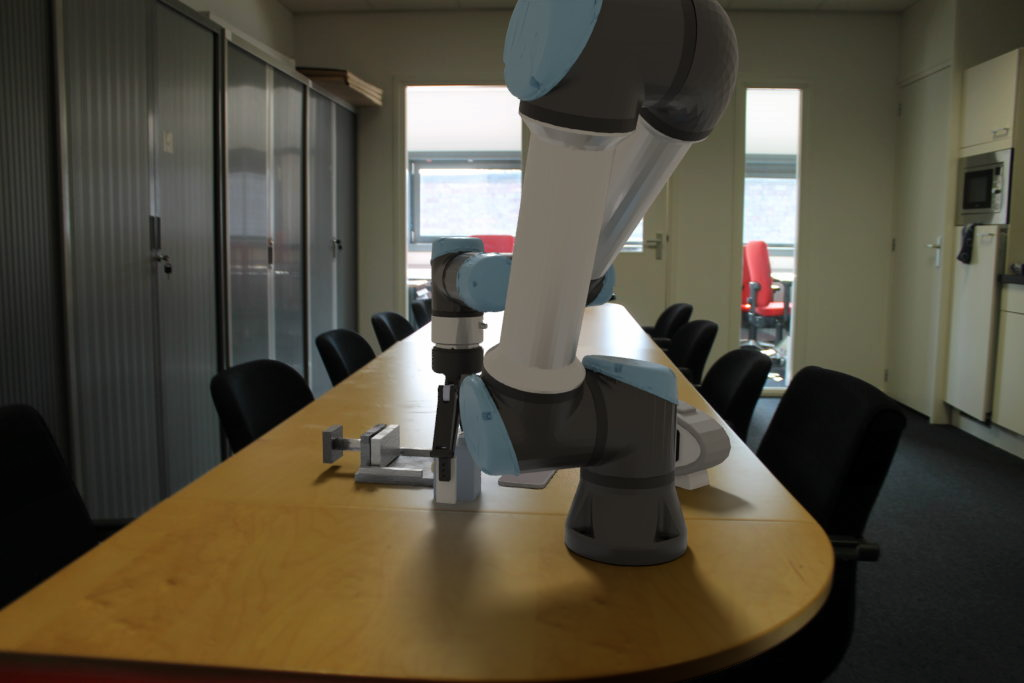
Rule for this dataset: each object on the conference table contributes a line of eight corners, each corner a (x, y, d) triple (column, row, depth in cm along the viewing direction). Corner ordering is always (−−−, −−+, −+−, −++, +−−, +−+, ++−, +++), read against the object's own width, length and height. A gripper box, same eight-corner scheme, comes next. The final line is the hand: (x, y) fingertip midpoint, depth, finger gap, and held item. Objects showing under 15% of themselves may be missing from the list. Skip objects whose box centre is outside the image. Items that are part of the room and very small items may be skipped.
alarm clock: (591, 463, 140) (593, 388, 139) (616, 457, 144) (618, 384, 143) (704, 496, 123) (707, 411, 121) (729, 488, 127) (732, 406, 125)
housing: (474, 501, 120) (474, 446, 119) (428, 498, 121) (428, 444, 120) (481, 490, 125) (481, 438, 124) (437, 488, 126) (436, 436, 125)
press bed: (449, 487, 126) (449, 444, 125) (354, 481, 128) (354, 439, 128) (469, 462, 140) (469, 424, 139) (383, 457, 142) (383, 420, 141)
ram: (380, 471, 130) (380, 438, 129) (316, 467, 131) (316, 435, 131) (399, 454, 139) (399, 424, 139) (340, 451, 141) (339, 421, 140)
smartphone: (562, 460, 140) (543, 485, 126) (562, 465, 140) (543, 490, 126) (520, 457, 142) (495, 480, 128) (520, 462, 142) (495, 486, 128)
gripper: (463, 358, 107) (463, 517, 110) (499, 335, 131) (498, 466, 134) (407, 356, 108) (408, 513, 111) (452, 333, 133) (452, 463, 135)
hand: (457, 488), depth 123 cm, fingers open, 13 cm apart
